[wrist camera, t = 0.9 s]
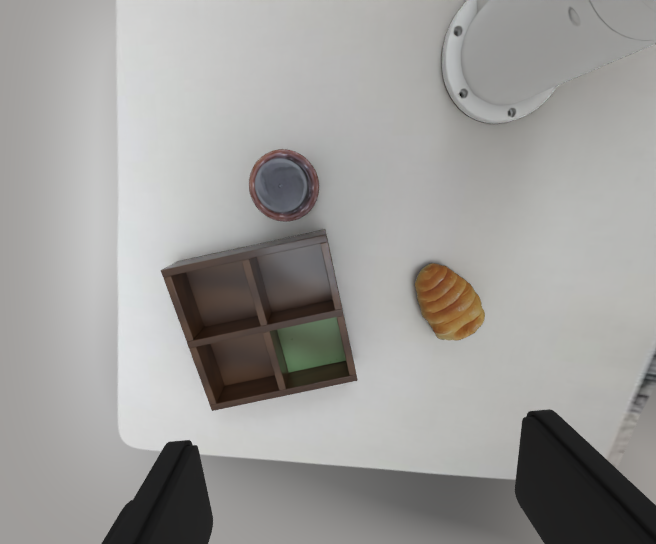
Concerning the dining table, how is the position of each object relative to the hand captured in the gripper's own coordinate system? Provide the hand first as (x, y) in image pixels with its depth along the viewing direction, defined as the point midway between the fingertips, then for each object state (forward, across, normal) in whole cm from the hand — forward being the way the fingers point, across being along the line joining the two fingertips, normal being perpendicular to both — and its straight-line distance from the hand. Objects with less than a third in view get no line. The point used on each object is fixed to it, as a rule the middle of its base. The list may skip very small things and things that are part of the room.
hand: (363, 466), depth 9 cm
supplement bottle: (+29, +3, -8) cm, 30 cm away
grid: (+29, +7, +7) cm, 30 cm away
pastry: (+29, -14, +7) cm, 33 cm away
